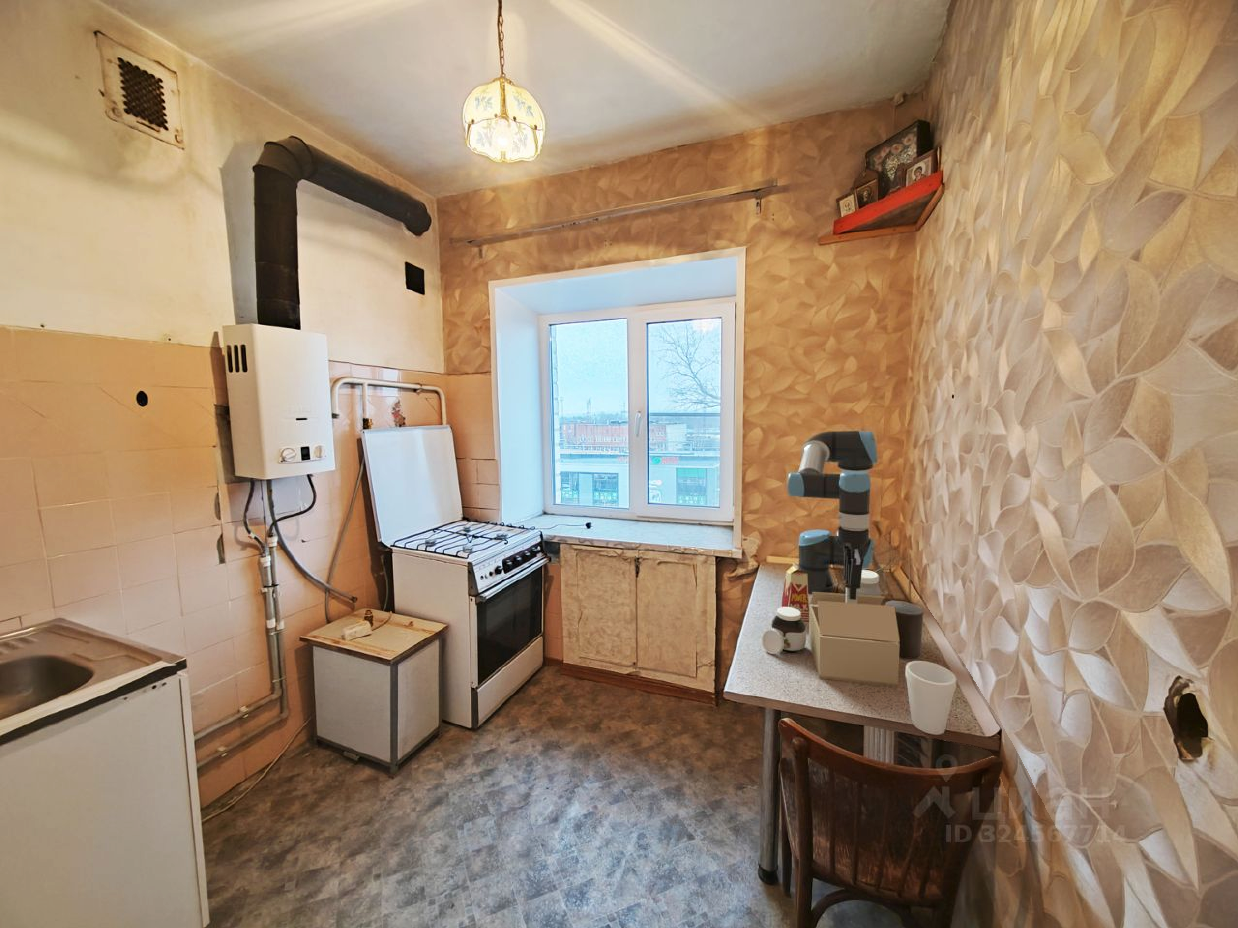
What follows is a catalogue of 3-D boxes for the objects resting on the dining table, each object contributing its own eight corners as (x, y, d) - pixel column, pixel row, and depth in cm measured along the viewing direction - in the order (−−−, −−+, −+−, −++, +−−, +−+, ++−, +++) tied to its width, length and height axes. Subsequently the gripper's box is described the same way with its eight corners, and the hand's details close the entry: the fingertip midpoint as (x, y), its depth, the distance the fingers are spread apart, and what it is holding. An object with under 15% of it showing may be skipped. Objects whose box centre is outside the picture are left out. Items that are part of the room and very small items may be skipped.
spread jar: (807, 645, 139) (808, 609, 138) (801, 663, 130) (802, 625, 128) (768, 636, 145) (768, 602, 144) (759, 653, 136) (759, 616, 134)
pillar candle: (901, 661, 129) (904, 612, 127) (875, 644, 138) (877, 598, 136) (929, 656, 131) (932, 607, 129) (901, 640, 140) (903, 594, 139)
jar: (847, 628, 148) (848, 576, 146) (846, 616, 157) (847, 566, 155) (881, 634, 144) (883, 580, 142) (878, 620, 153) (880, 570, 151)
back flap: (884, 597, 128) (884, 596, 128) (813, 592, 133) (812, 591, 133) (877, 609, 135) (877, 607, 135) (809, 604, 140) (809, 602, 140)
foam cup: (894, 712, 108) (896, 662, 106) (930, 709, 108) (933, 659, 107) (924, 741, 98) (927, 686, 97) (963, 737, 99) (967, 682, 97)
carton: (808, 641, 141) (809, 605, 140) (875, 647, 136) (877, 610, 135) (819, 678, 122) (820, 636, 121) (897, 687, 117) (899, 644, 116)
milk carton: (812, 625, 152) (813, 568, 150) (784, 623, 154) (784, 567, 151) (807, 613, 161) (808, 559, 158) (780, 611, 163) (780, 558, 160)
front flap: (817, 600, 125) (817, 600, 125) (893, 606, 120) (894, 606, 120) (820, 634, 121) (820, 634, 121) (899, 641, 116) (899, 641, 116)
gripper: (834, 521, 131) (832, 597, 134) (843, 533, 119) (841, 617, 121) (862, 521, 129) (859, 599, 132) (875, 534, 117) (872, 620, 119)
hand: (851, 608), depth 127 cm, fingers closed
